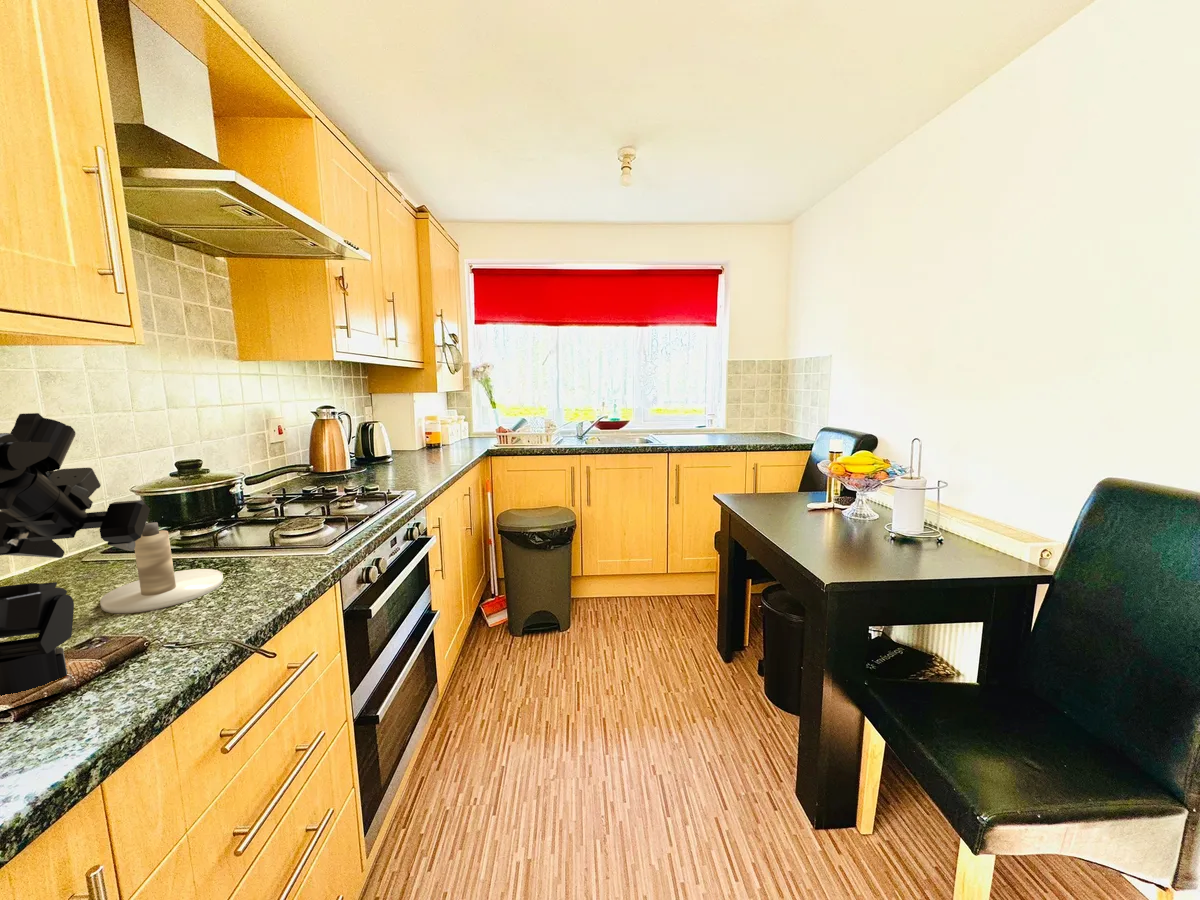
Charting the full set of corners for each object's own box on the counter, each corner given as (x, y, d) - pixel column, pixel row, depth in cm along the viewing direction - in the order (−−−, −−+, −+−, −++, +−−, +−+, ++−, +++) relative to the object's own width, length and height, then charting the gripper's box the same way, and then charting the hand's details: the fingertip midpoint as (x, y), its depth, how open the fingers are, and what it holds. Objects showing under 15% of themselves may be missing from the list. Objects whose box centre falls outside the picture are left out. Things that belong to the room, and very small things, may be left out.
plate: (104, 623, 85) (102, 616, 85) (98, 594, 97) (97, 588, 97) (232, 589, 98) (231, 584, 98) (213, 567, 110) (212, 562, 110)
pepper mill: (153, 596, 93) (142, 528, 91) (134, 593, 94) (124, 526, 92) (182, 586, 97) (173, 521, 95) (164, 583, 99) (155, 519, 97)
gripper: (134, 449, 76) (180, 503, 88) (-29, 457, 70) (45, 513, 82) (108, 512, 69) (163, 562, 81) (-72, 526, 64) (15, 577, 76)
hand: (98, 551), depth 80 cm, fingers open, 9 cm apart
